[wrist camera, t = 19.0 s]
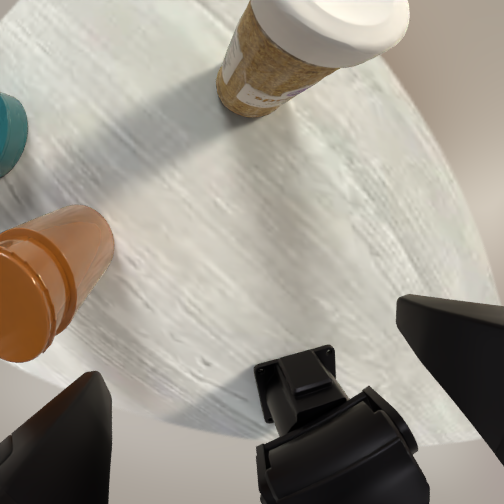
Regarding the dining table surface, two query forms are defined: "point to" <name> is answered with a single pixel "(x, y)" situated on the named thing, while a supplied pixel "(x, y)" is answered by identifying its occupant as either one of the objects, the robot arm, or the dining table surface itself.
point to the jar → (48, 276)
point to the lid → (11, 132)
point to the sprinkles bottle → (302, 47)
